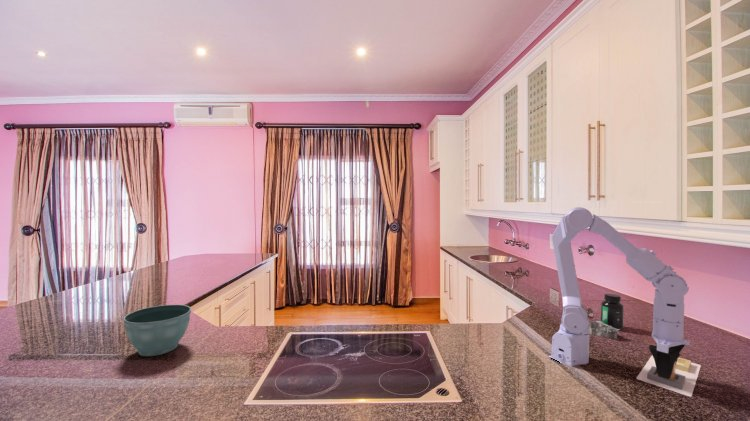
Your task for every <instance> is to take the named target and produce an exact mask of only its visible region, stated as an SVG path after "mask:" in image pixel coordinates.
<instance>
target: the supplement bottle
mask: <svg viewBox="0 0 750 421" xmlns="http://www.w3.org/2000/svg"><path fill="white" fill-rule="evenodd" d="M621 301H622V299H621V295H619V294H615V293H604V300H603V301H601V303H600V321H601V322H603V323H604V324H606V325H609V326H612V327H614V328H616V329H620V330H619V331H622V330H623V329H624V314H625V312H624V311H625V306H624V305H623V303H621Z"/></svg>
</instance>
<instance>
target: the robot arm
mask: <svg viewBox="0 0 750 421" xmlns="http://www.w3.org/2000/svg"><path fill="white" fill-rule="evenodd" d="M586 229H588V232H590V233H594V234H598V235H600V236H602V237H603V238H604V239H606V240H607V241H608V242H610V243H611V244H612V245H613V246H614V247H615V248H617V249H618V250H619V251H621V252H622V253H623V254H624V255H625V258H626V259H625V262H626V264H628V266H630V267H631V268H632V269H634V271H636V272H637V273H638V274H639V275H640V276H641V277H642V278H644V279H645V280H646V281H648V282H651V284H652V286H653V287H654V288H655V289H654V298H653V309H652V310H653V314H652V315H653V316H652V332H651V337H652V339H653V340H654V341H655V343H656V345H653V344H649V346H648V350H649V352H650V353H651V356H652V355H653V358H654V360H655V364H656V369H657V373H658V376H660V377H663V378H666V379H670V377H671V374H672V370H673V366H674V363H675V361H676V363H677V359H678V358H680V356H681V351H682V350H683V348H685V346H689V345H690V344H691V341H690V340H688V339H684V328H685V327H684V325H685V296H686V295H687V294H688V293H689V288H690V287H689V286H688V284H687V281H686V279H684V277H682V276H680V275H679V274H677V272H676V271H674V270H675V268H674V267H672V266H671V265H667V264H666V263H665V262H663V261H662V260H661V259H659V257H657V253H656V252H655V251H654V250H652V249H651V250H649V249H648V248H646V247H636V246H635V245H634V244H633V243H631V241H629V240H628V239H627V238H626V237H625V236H623V235H622V234H621V233H620V232H619V231H618V230H617V229H615V227H614V226H612V225H611V224H610V223H609V222H607V221H606V220H605V219H602V218H601V217H599V216H597V215H596V214H594V213H592V212H591V211H590V210H588V209H587V208H585V207H579V206H578V207H574V208H571V209H569V210H568V211H567V212H566V213H565V214H564V215H562V217H561V218H560V221H559V222H558V224H557V226H556V228H555V230H554V231H553V233H552V235H551V241H552V246H553V252H554V253H553V254H554V258H555V265H556V269H557V275H558V276H557V277H558V281H559V287H560V292H561V299H562V308H563V309H562V315H561V323H560V325H559V329H558V331H557V332H555V333H554V334H553V335H552V338H551V355H548V358H549V357H551V358H553V359H555V360H557V361H559V362H560V363H559V362H558V363H559V364H561V363H562V364H565V365H567V366H569V367H575V366H578V365H587V364H589V359H590V358H589V357H590V331H589V329H587V328H588V321H589V320H588V317H589V316H588V314H589V313H588V311H587V309H586V308H585V306H584V305H583V303H582V302H583V301H582V298H581V294H580V288H579V282H578V277H577V276H578V275H577V270H576V265H575V259H574V255H573V249H572V244H571V243H572V242H571V241H573V239H574V238H575V237H576V236H577V235H578V234H579V233H581V232H582V231H585V230H586ZM551 358H550V359H551ZM553 359H552V360H553ZM555 360H554V361H555ZM557 361H556V362H557Z"/></svg>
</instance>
